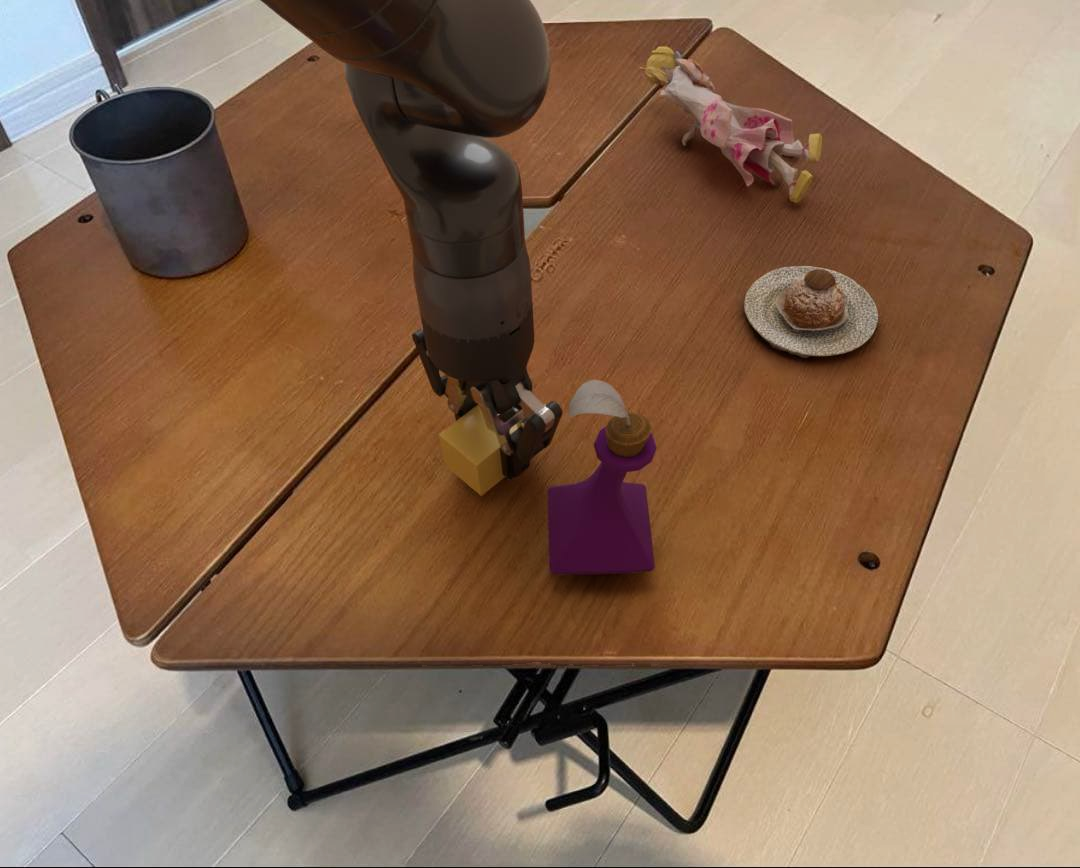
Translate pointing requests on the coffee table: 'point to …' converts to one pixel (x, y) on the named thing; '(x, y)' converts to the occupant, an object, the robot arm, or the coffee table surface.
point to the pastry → (810, 311)
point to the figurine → (733, 123)
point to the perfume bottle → (604, 495)
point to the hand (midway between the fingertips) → (494, 453)
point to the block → (473, 451)
